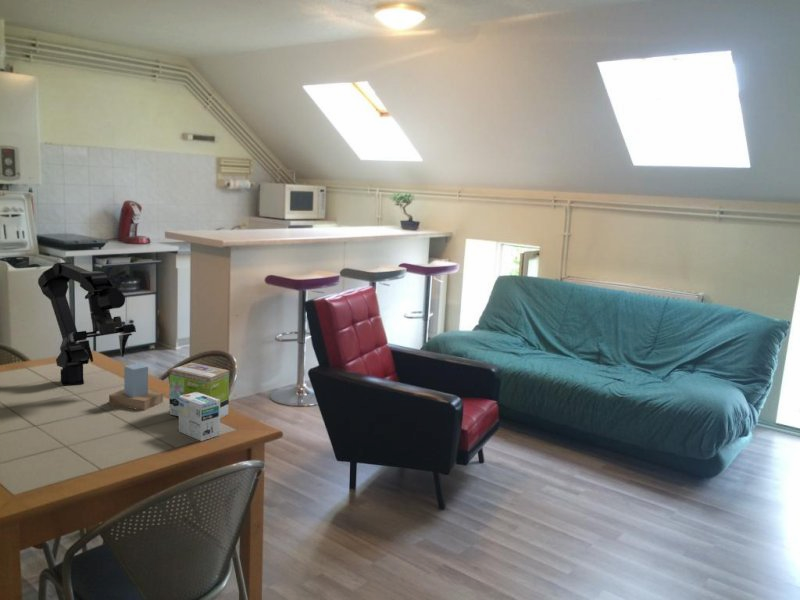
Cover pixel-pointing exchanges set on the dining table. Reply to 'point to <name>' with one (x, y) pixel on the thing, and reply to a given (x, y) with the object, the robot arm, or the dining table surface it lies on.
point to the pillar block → (136, 380)
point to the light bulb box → (199, 416)
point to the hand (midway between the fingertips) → (107, 359)
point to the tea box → (199, 385)
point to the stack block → (136, 400)
